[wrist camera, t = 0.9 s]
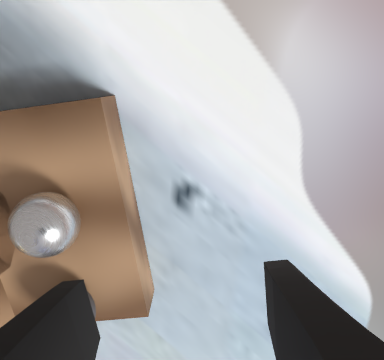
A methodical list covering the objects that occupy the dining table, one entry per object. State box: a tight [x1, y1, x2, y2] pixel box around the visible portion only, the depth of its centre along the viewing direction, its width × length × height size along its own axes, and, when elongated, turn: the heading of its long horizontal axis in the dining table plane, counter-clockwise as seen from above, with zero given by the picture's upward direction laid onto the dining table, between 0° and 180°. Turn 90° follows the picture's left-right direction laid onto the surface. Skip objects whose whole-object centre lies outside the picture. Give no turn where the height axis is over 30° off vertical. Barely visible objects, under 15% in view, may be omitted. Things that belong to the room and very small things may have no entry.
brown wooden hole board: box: [0, 95, 154, 328], centre depth 18 cm, size 13×16×2 cm
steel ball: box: [8, 192, 81, 258], centre depth 15 cm, size 3×3×3 cm
